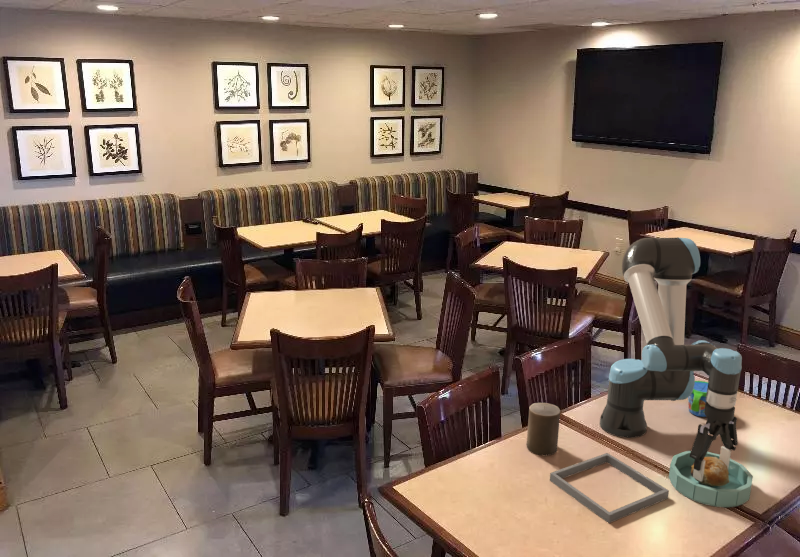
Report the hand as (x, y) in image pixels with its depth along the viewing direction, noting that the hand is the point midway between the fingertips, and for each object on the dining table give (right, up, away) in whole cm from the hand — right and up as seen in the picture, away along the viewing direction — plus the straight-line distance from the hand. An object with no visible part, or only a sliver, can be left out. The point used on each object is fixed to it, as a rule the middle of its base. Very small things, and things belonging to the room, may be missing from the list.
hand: (710, 473), depth 191 cm
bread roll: (0, -2, +1) cm, 2 cm away
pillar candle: (-44, +2, +22) cm, 49 cm away
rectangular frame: (-30, -4, -1) cm, 30 cm away
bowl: (0, -4, +1) cm, 4 cm away
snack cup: (+17, +8, +45) cm, 48 cm away
